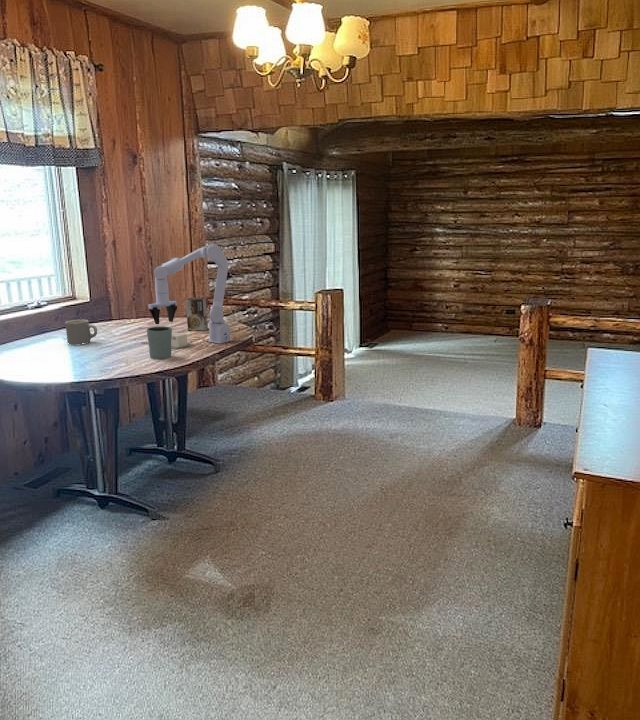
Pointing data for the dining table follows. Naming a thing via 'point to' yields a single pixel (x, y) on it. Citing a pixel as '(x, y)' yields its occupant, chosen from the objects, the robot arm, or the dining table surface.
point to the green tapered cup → (159, 342)
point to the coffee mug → (79, 331)
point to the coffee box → (196, 313)
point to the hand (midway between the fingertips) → (164, 322)
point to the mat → (171, 346)
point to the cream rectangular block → (178, 339)
